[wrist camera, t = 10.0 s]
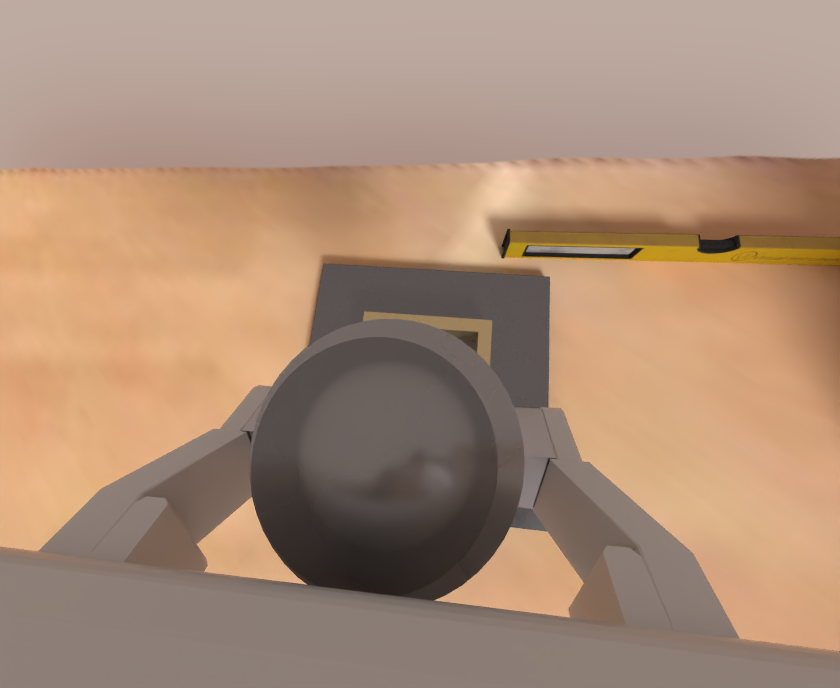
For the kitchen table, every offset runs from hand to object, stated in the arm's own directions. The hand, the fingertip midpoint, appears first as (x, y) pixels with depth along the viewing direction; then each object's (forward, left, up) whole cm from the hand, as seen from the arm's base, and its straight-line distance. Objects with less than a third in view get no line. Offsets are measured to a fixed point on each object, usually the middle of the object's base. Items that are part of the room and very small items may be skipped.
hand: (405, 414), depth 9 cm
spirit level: (-22, -16, -20) cm, 34 cm away
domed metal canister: (0, +1, -5) cm, 5 cm away
